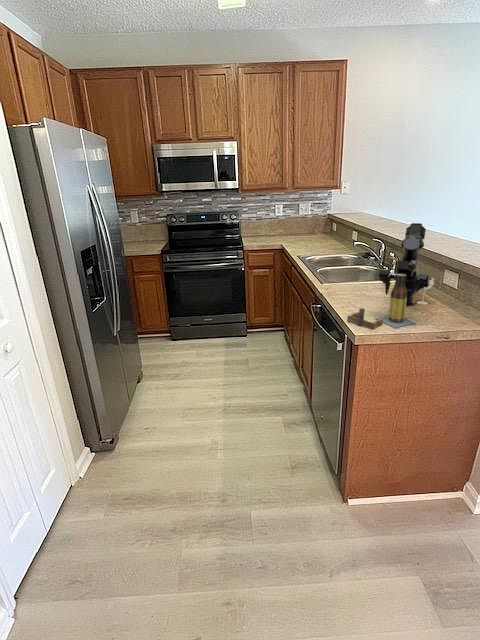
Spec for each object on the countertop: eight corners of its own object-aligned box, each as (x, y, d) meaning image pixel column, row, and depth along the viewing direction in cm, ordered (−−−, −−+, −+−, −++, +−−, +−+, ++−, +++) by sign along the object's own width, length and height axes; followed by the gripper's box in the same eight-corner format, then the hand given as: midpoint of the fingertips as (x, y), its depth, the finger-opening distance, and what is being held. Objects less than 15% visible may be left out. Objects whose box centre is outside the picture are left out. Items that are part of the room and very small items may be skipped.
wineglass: (432, 305, 169) (436, 280, 165) (416, 304, 171) (420, 279, 166) (428, 300, 175) (432, 276, 171) (413, 300, 177) (416, 276, 172)
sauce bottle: (397, 316, 156) (403, 271, 149) (407, 322, 151) (414, 275, 144) (384, 318, 155) (390, 272, 148) (393, 324, 149) (400, 276, 142)
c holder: (356, 317, 159) (358, 302, 156) (382, 324, 150) (384, 308, 148) (346, 322, 154) (347, 306, 152) (372, 330, 146) (374, 313, 143)
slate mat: (395, 315, 160) (395, 314, 159) (415, 323, 150) (415, 322, 150) (375, 319, 156) (375, 318, 156) (394, 328, 146) (395, 327, 146)
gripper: (382, 250, 151) (371, 282, 146) (432, 254, 140) (422, 289, 136) (385, 265, 159) (375, 296, 155) (433, 270, 149) (423, 303, 145)
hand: (398, 296), depth 148 cm, fingers open, 9 cm apart
